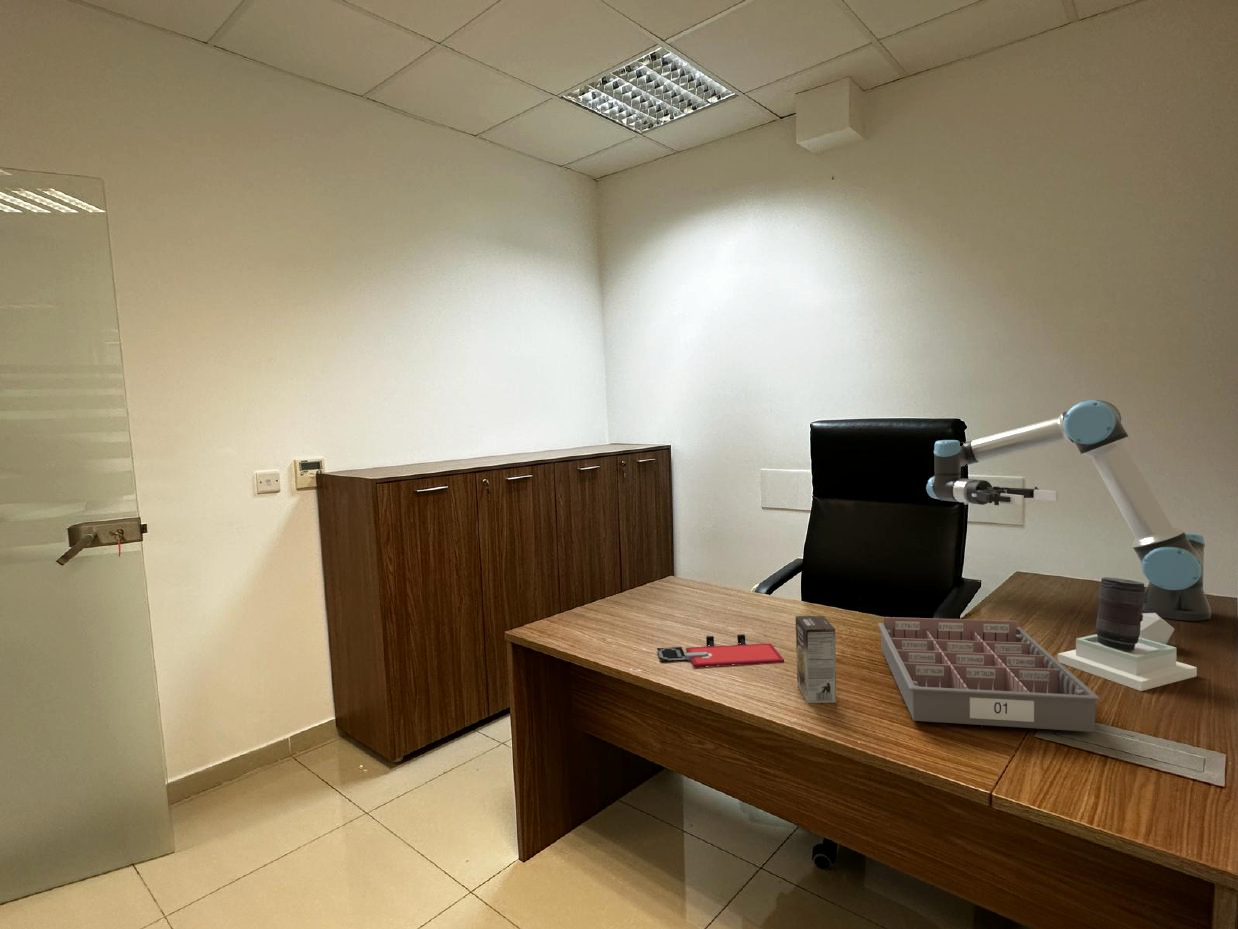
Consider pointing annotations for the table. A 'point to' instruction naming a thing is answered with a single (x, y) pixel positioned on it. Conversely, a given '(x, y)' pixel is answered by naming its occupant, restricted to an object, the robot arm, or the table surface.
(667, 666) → the table surface
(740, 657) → the red board with handle
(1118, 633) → the camera lens
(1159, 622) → the white polyhedron
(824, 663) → the coffee box
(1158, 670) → the plinth
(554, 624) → the table surface
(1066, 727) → the organizer tray
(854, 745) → the table surface
